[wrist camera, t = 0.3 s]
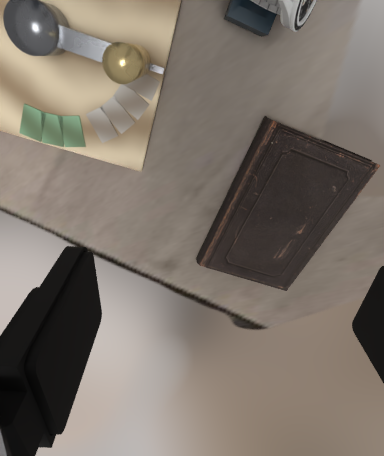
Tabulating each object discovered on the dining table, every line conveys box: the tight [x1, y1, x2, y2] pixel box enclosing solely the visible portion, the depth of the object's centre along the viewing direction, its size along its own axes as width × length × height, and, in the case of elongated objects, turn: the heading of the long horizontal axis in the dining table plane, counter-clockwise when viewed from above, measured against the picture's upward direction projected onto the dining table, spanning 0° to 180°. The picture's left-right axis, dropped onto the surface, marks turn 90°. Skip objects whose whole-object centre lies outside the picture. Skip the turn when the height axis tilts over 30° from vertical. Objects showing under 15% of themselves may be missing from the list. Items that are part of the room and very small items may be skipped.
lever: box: [3, 0, 165, 84], centre depth 26 cm, size 14×4×8 cm, turn 73°
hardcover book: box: [196, 116, 380, 291], centre depth 41 cm, size 16×23×2 cm
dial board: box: [0, 0, 182, 172], centre depth 29 cm, size 24×24×1 cm
